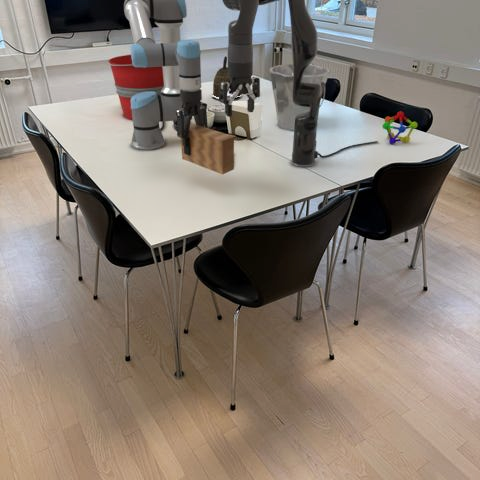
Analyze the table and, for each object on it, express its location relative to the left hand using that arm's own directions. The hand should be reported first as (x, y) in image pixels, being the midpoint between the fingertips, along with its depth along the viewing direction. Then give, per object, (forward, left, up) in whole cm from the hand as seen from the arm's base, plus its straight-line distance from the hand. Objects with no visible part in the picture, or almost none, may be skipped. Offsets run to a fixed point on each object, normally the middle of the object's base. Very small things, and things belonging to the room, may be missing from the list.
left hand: (193, 151), depth 167 cm
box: (+4, +6, -3) cm, 8 cm away
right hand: (+17, +19, +20) cm, 32 cm away
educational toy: (-55, +86, -12) cm, 102 cm away
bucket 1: (-85, -46, -12) cm, 98 cm away
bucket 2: (-76, +38, -12) cm, 86 cm away
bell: (-128, -6, -12) cm, 129 cm away
